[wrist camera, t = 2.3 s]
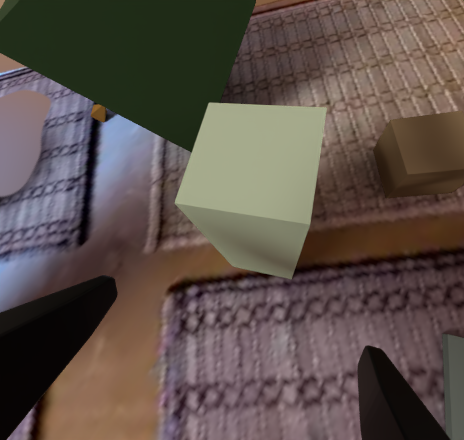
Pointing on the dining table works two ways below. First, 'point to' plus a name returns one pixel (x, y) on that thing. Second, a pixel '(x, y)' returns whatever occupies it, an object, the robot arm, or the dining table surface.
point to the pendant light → (132, 54)
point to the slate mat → (454, 385)
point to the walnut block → (422, 155)
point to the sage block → (254, 182)
